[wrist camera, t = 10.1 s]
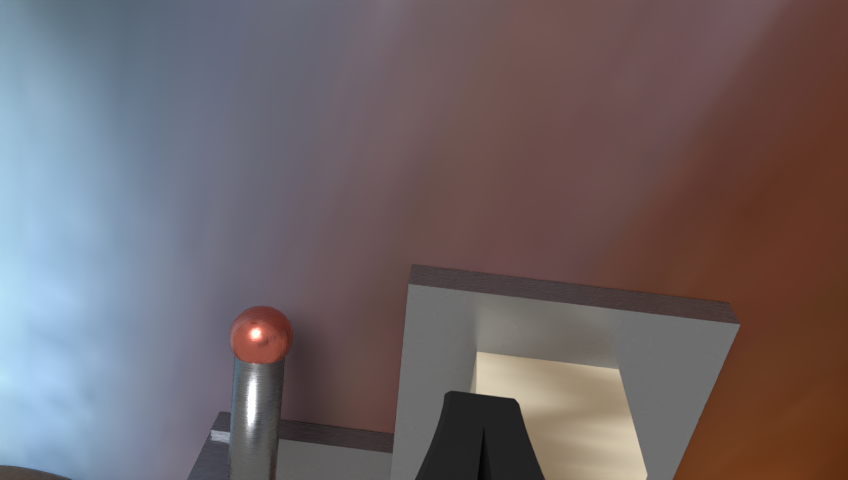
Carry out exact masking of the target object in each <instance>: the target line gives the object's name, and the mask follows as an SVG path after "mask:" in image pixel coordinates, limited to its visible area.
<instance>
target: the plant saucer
mask: <svg viewBox="0 0 848 480" xmlns="http://www.w3.org/2000/svg"><path fill="white" fill-rule="evenodd" d="M0 480H71V479H68V478H65V477H61V476H58V475H55V474H51V473H47V472H43V471H38V470H33V469H28V468H22V467H15V466H0Z"/></svg>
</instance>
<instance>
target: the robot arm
mask: <svg viewBox="0 0 848 480" xmlns="http://www.w3.org/2000/svg"><path fill="white" fill-rule="evenodd" d="M415 480H545V478H544V475H543V473H542V470H541V468H540V465H539V463H538V460H537V458H536V455H535V452H534V450H533V447H532V444H531V442H530V439H529V436H528V433H527V430H526V427H525V423H524V420H523V417H522V413H521V409H520V405H519V403H518V402H517V401H516V400H515V399H514V398H506V397H499V396H491V395H483V394H475V393H468V392H460V391H452V390H451V391H449V392H447V393H446V394H444V402H443V407H442V411H441V415H440V419H439V422H438V425H437V428H436V431H435V434H434V436H433V439H432V442H431V444H430V447H429V449H428V451H427V454H426V456H425V458H424V460H423V463H422V465H421V467H420V469H419V472H418V474H417V476H416V478H415Z"/></svg>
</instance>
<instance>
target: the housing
mask: <svg viewBox="0 0 848 480" xmlns="http://www.w3.org/2000/svg"><path fill="white" fill-rule="evenodd" d="M470 393H475V394H483V395H491V396H499V397H506V398H514V399H515V400H516V401H517V402H518V403H519V405H520V409H521V413H522V417H523V420H524V423H525V427H526V430H527V433H528V436H529V439H530V442H531V444H532V447H533V450H534V452H535V455H536V458H537V460H538V463H539V465H540V468H541V470H542V473H543V475H544V478H545V480H646V478H647V471H646V468H645V464H644V460H643V457H642V453H641V449H640V446H639V442H638V438H637V435H636V431H635V427H634V424H633V420H632V416H631V413H630V409H629V405H628V402H627V398H626V394H625V391H624V387H623V383H622V379H621V376H620V372H619V369H611V368H603V367H595V366H587V365H579V364H571V363H563V362H555V361H547V360H539V359H531V358H523V357H515V356H507V355H499V354H491V353H483V352H477V354H476V360H475V366H474V372H473V377H472V383H471V389H470Z"/></svg>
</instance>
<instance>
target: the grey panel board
mask: <svg viewBox="0 0 848 480" xmlns="http://www.w3.org/2000/svg"><path fill="white" fill-rule="evenodd" d="M739 327H740V323H739V321H738V319H737V318H736V316H735V314H734V312H733V311H732V309H731V307H730V305H729V304H728V303H723V302H715V301H707V300H699V299H690V298H682V297H674V296H666V295H657V294H649V293H641V292H633V291H624V290H616V289H608V288H600V287H591V286H583V285H575V284H567V283H558V282H550V281H542V280H534V279H525V278H517V277H509V276H501V275H492V274H484V273H476V272H468V271H459V270H451V269H443V268H435V267H426V266H418V265H412V269H411V274H410V279H409V285H408V296H407V307H406V317H405V328H404V339H403V349H402V360H401V371H400V381H399V392H398V403H397V413H396V424H395V434H387V433H379V432H372V431H364V430H356V429H348V428H341V427H333V426H325V425H317V424H309V423H302V422H294V421H286V420H280V431H279V444H278V458H277V471H276V480H415V478H416V476H417V474H418V472H419V469H420V467H421V465H422V463H423V460H424V458H425V456H426V454H427V451H428V449H429V447H430V444H431V442H432V439H433V436H434V434H435V431H436V428H437V425H438V422H439V419H440V415H441V411H442V407H443V402H444V394H446V393H447V392H449V391H451V390H452V391H460V392H468V393H470V389H471V383H472V377H473V372H474V366H475V360H476V354H477V352H483V353H491V354H499V355H507V356H515V357H523V358H531V359H539V360H547V361H555V362H563V363H571V364H579V365H587V366H595V367H603V368H611V369H619V372H620V376H621V379H622V383H623V387H624V391H625V394H626V398H627V402H628V405H629V409H630V413H631V416H632V420H633V424H634V427H635V431H636V435H637V438H638V442H639V446H640V449H641V453H642V457H643V460H644V464H645V468H646V471H647V478H646V480H672V479H673V477H674V475H675V472H676V470H677V468H678V466H679V463H680V461H681V459H682V457H683V454H684V452H685V450H686V447H687V445H688V443H689V441H690V438H691V436H692V434H693V431H694V429H695V427H696V425H697V422H698V420H699V418H700V416H701V413H702V411H703V409H704V406H705V404H706V402H707V400H708V397H709V395H710V393H711V390H712V388H713V386H714V384H715V381H716V379H717V377H718V375H719V372H720V370H721V368H722V365H723V363H724V361H725V359H726V356H727V354H728V352H729V349H730V347H731V345H732V343H733V340H734V338H735V336H736V334H737V331H738V329H739ZM230 421H231V413H224V412H219V415H218V417H217V419H216V421H215V423H214V425H213V427H212V429H211V432H210V434H209V436H208V438H207V440H206V442H205V444H204V446H203V448H202V450H201V452H200V454H199V456H198V458H197V460H196V462H195V464H194V467H193V469H192V471H191V473H190V475H189V477H188V479H187V480H227V472H228V455H229V438H230Z"/></svg>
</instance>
